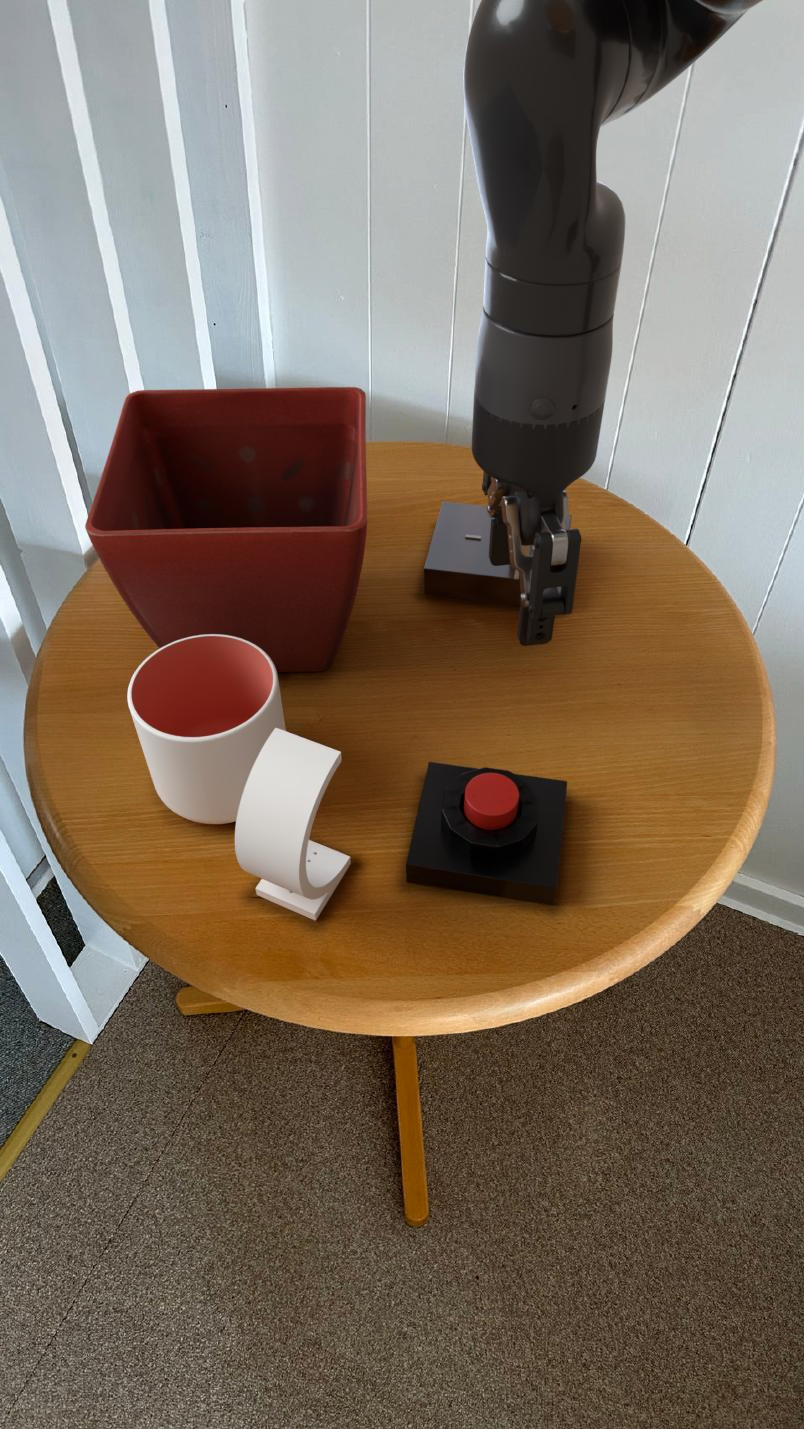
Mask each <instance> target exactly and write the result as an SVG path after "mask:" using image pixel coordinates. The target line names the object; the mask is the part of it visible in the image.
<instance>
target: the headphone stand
mask: <svg viewBox="0 0 804 1429" xmlns="http://www.w3.org/2000/svg"><path fill="white" fill-rule="evenodd" d="M342 759H343V758H342V752H341V751H339V750H337V749H334V748H331V747H329V746H326V745H324V744H321V743H319V742H316V741H312V740H310V739H307V738H305V737H302V736H300V735H297V734H294V733H291V732H289V731H287V730H286V731H284V730H281V729H278V728H275V729H274V731H273V732H272V733H271V735H270V736H269V738H268V739H267V741H266V743H265V744H264V746H263V748H262V750H261V751H260V753H259V755H258V757H257V759H256V761H255V763H254V765H253V768H252V770H251V772H250V775H249V777H248V780H247V783H246V785H245V788H244V791H243V795H242V798H241V801H240V805H239V809H238V814H237V820H236V821H235V827H234V852H235V857H236V860H237V863H238V865H239V867H240V868H241V869H242V871H244V872H246V873H248V874H250V875H252V876H254V877H257V878H259V879H260V881H259V883H258V884H257V885H256V887H255V893H256V896H259V897H261V898H262V899H265V900H268V901H270V902H272V903H274V904H275V905H276V904H277V905H279V906H281V907H283V908H285V909H288V910H290V911H292V912H295V913H297V914H299V915H302V916H303V917H306V918H308V919H311V920H313V921H314V922H316V921H317V919H318V918H319V916H320V915H321V913H322V912H323V910H324V908H325V906H326V905H327V903H328V901H329V900H330V898H332V895H333V893H334V892H335V890H336V889H337V887H338V885H339V884H340V882H341V880H342V879H343V877H344V876H345V874H346V872H347V871H348V869H349V867H350V866H351V865H352V861H351V858H352V857H351V856H350V855H347V854H345V853H342V852H341V851H338V850H336V849H332V848H330V847H327V846H325V845H322V844H320V843H318V842H316V841H313V840H311V839H310V836H311V832H312V830H313V829H312V828H313V824H314V821H315V819H316V815H317V812H318V809H319V807H320V804H321V802H322V800H323V797H324V795H325V792H326V790H327V788H328V786H329V784H330V782H331V780H332V778H333V776H334V774H335V772H336V771H337V769H338V767H339V766H340V764H341V763H342V761H343V760H342Z"/></svg>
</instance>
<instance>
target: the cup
mask: <svg viewBox="0 0 804 1429" xmlns="http://www.w3.org/2000/svg"><path fill="white" fill-rule="evenodd" d="M278 676H279V675H278V672H277V671H276V668H275V665H274V663H273V662H272V660H271V658H270V657H269V656H268V655H267V654H266V653H265V652H264V651H263V650H262V649H261V648H259V647H258V646H256V645H255V644H253V643H251V642H249V641H247V640H244V639H241V638H238V637H234V636H229V635H221V634H206V635H197V636H191V637H187V638H183V639H180V640H177V641H175V642H172V643H170V644H168V645H166V646H164V647H162V648H158V649H157V650H155V651H154V652H153V653H151V654H150V655H149V656H147V657H146V658H145V659H144V660H143V661H142V662H141V663H140V664H139V666H137V668H136V670H135V671H134V673H133V674H132V676H131V679H130V682H129V684H128V688H127V705H128V709H129V712H130V715H131V718H132V721H133V724H134V728H135V730H136V733H137V734H136V735H137V738H138V739H139V743H140V746H141V749H142V752H143V755H144V759H145V761H146V765H147V767H148V771H149V774H150V777H151V781H152V783H153V786H154V789H155V791H156V794H157V795H158V797H159V798H160V800H161V801H162V803H163V804H164V805H165V806H166V807H167V808H168V809H169V810H171V811H172V812H173V813H175V814H176V815H177V816H179V817H182V818H183V819H185V820H186V819H187V820H189V821H191V822H194V823H199V824H204V825H205V824H206V825H223V824H230V823H234V822H235V823H236V820H237V814H238V809H239V805H240V801H241V798H242V795H243V791H244V788H245V785H246V783H247V780H248V777H249V775H250V772H251V770H252V768H253V765H254V763H255V761H256V759H257V757H258V755H259V753H260V751H261V750H262V748H263V746H264V744H265V743H266V741H267V739H268V738H269V736H270V735H271V733H272V732H273V731H274V729H275V728H278V729H281V730H284V731H286V732H287V729H286V723H285V717H284V716H285V715H284V710H283V702H282V696H281V695H282V694H281V689H280V683H279V677H278Z"/></svg>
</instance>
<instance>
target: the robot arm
mask: <svg viewBox="0 0 804 1429" xmlns="http://www.w3.org/2000/svg"><path fill="white" fill-rule="evenodd" d="M763 1H764V0H480V1H479V2H478V6H477V8H476V10H475V13H474V15H473V18H472V22H471V25H470V29H469V34H468V37H467V42H466V45H465V46H466V47H465V53H464V62H463V72H462V73H463V75H462V78H463V79H462V85H463V86H462V88H463V101H464V109H465V119H466V123H467V129H468V134H469V140H470V141H469V142H470V145H471V152H472V157H473V163H474V168H475V175H476V181H477V186H478V187H477V188H478V192H479V195H480V200H481V205H482V210H483V212H484V217H485V222H486V227H487V228H486V229H487V233H486V234H487V235H486V242H485V243H486V245H485V258H484V259H485V261H484V280H483V299H482V310H481V319H480V324H479V328H478V334H477V340H476V348H475V349H476V350H475V368H474V386H473V387H474V388H473V408H472V427H471V428H472V429H471V453H472V457H473V459H474V461H475V463H476V464H477V466H478V467H479V468H480V469H481V470H482V471H483V475H482V477H483V478H482V482H481V490H482V491H483V495H484V496H487V505H486V506H487V512H488V513H489V517H490V518H494V519H491V528H490V543H489V559H490V562H491V564H492V565H493V566H502V565H510V564H511V566H512V568H514V569H516V570H517V571H518V572H519V579H520V590H521V594H520V600H521V603H520V606H519V613H518V623H517V624H518V625H517V633H516V637H517V639H518V643H519V644H520V645H521V647H531V646H541V645H546V644H548V643H550V642H551V641H552V639H553V634H554V627H555V621H556V620H555V619H556V616H563V615H571V614H572V613H573V609H574V608H573V607H574V602H575V601H574V600H575V593H576V586H577V585H576V584H577V576H578V570H579V561H580V552H581V548H580V547H581V546H582V539H583V538H582V535H581V532H580V530H579V528H570V529H567V530H566V518H567V517H568V515H570V509H569V497H568V493H567V490H566V489H567V488H568V487H569V486H570V485H572V483H574V482H576V481H577V480H578V479H580V478H581V477H583V476H584V475H585V474H587V472H589V470H591V468H592V467H593V465H594V463H595V461H596V458H597V455H598V446H599V441H600V435H601V429H602V421H603V415H604V409H605V403H606V395H607V389H608V384H609V378H610V370H611V364H612V359H613V358H612V357H613V347H614V346H613V344H614V343H613V341H614V340H613V338H614V337H613V336H614V335H613V334H614V333H613V332H614V331H613V330H614V316H615V309H616V303H617V295H618V290H619V282H620V276H621V269H622V261H623V257H624V256H623V255H624V248H625V238H626V212H625V208H624V204H623V202H622V200H621V199H620V197H619V195H618V194H617V193H616V192H615V191H614V190H613V189H612V188H611V187H610V186H608V185H607V184H604V183H603V182H602V181H600V180H597V178H598V177H597V149H598V148H597V146H598V140H599V134H600V131H601V128H603V126H605V125H607V124H609V123H611V122H613V121H615V120H617V119H620V118H621V117H623V116H625V115H627V114H629V113H631V112H632V111H634V110H635V109H637V108H639V107H640V106H642V105H643V104H644V103H646V102H647V101H648V100H650V99H651V98H653V97H655V95H657V94H658V93H659V92H660V91H662V90H663V89H665V87H667V86H668V85H669V84H671V83H672V82H673V81H674V80H675V79H677V78H678V77H679V76H680V75H681V74H683V73H684V72H685V71H686V70H687V69H688V68H689V67H691V66H692V65H694V63H695V62H697V60H699V59H700V58H701V57H702V56H703V55H704V54H705V53H706V52H707V51H709V49H711V47H712V46H713V45H714V44H716V42H718V41H719V40H720V39H721V38H722V37H723V36H724V35H725V34H726V33H728V31H729V30H730V29H732V28H733V27H734V25H736V24H737V23H738V21H740V20H741V18H743V16H744V15H745V14H746V13H747V12H748V11H749V10H750V9H752V8H754V7H755V6H757V5H758V4H760V3H762V2H763ZM522 545H524V546H529V545H534V546H532V553H533V556H525V555H524V554H523V552H522ZM531 571H532V574H531Z"/></svg>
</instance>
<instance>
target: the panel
mask: <svg viewBox="0 0 804 1429" xmlns="http://www.w3.org/2000/svg"><path fill="white" fill-rule="evenodd" d="M487 506H488V505H481V504H471V503H462V502H452V501H442V502H441V506H440V509H439V513H438V516H437V520H436V524H435V526H434V530H433V534H432V537H431V540H430V545H429V548H428V552H427V556H426V560H425V564H424V567H423V595H424V596H432V597H441V598H447V599H448V598H449V599H457V600H458V599H459V600H466V601H473V602H481V603H482V602H483V603H492V604H500V605H508V606H517V607H520V603H521V600H520V594H521V590H520V579H519V572H518V571H517V570H516V569H514V568H512V566H511V564H510V565H502V566H493V565H492V564H491V562H490V559H489V543H490V528H491V519H494V518H490V517H489V513H488V512H487ZM572 517H573V516H572V514H568V517H567V518H566V530H567V529H571V524H572ZM532 546H534V545H531V549H530V555H529V556H533V553H532ZM581 548H582V547H581V546H580V549H581ZM531 574H532V571H531Z"/></svg>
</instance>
